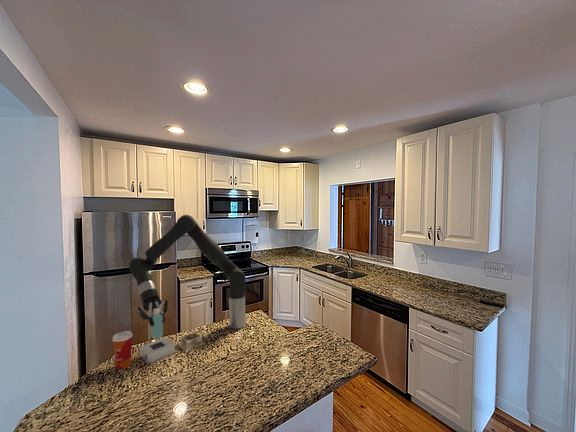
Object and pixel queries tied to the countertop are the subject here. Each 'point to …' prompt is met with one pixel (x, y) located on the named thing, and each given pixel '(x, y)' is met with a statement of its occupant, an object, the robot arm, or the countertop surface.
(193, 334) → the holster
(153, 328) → the teal bottle
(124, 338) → the paper cup
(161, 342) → the block
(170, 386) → the countertop surface
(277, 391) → the countertop surface
